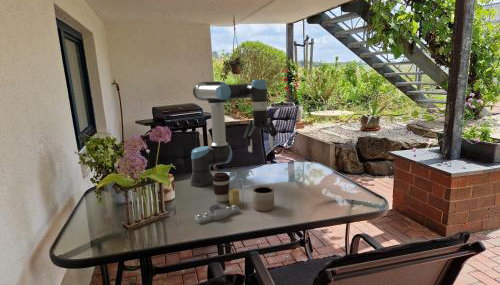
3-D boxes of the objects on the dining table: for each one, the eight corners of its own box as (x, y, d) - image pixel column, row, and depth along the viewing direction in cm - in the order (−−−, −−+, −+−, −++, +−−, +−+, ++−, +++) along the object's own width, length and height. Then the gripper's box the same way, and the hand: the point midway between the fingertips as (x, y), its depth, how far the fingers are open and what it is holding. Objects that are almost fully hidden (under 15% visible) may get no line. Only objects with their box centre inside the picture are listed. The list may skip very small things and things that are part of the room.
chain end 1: (193, 218, 152) (192, 210, 151) (214, 213, 158) (213, 204, 157) (200, 224, 145) (199, 215, 144) (221, 218, 151) (221, 209, 150)
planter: (259, 213, 156) (259, 195, 154) (249, 206, 165) (249, 188, 163) (278, 209, 161) (278, 190, 159) (267, 202, 170) (267, 185, 168)
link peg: (229, 204, 169) (228, 189, 168) (235, 202, 171) (235, 188, 170) (232, 206, 166) (232, 191, 164) (239, 204, 168) (238, 190, 166)
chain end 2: (214, 213, 158) (213, 204, 157) (233, 208, 163) (232, 199, 163) (221, 218, 151) (221, 209, 150) (241, 213, 157) (240, 204, 156)
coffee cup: (233, 197, 179) (232, 171, 176) (226, 204, 169) (225, 177, 167) (217, 196, 182) (216, 170, 179) (210, 202, 173) (208, 175, 170)
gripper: (243, 112, 154) (244, 154, 158) (283, 108, 167) (284, 147, 171) (235, 111, 160) (237, 152, 164) (274, 107, 174) (275, 145, 178)
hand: (261, 150), depth 168 cm, fingers open, 13 cm apart
